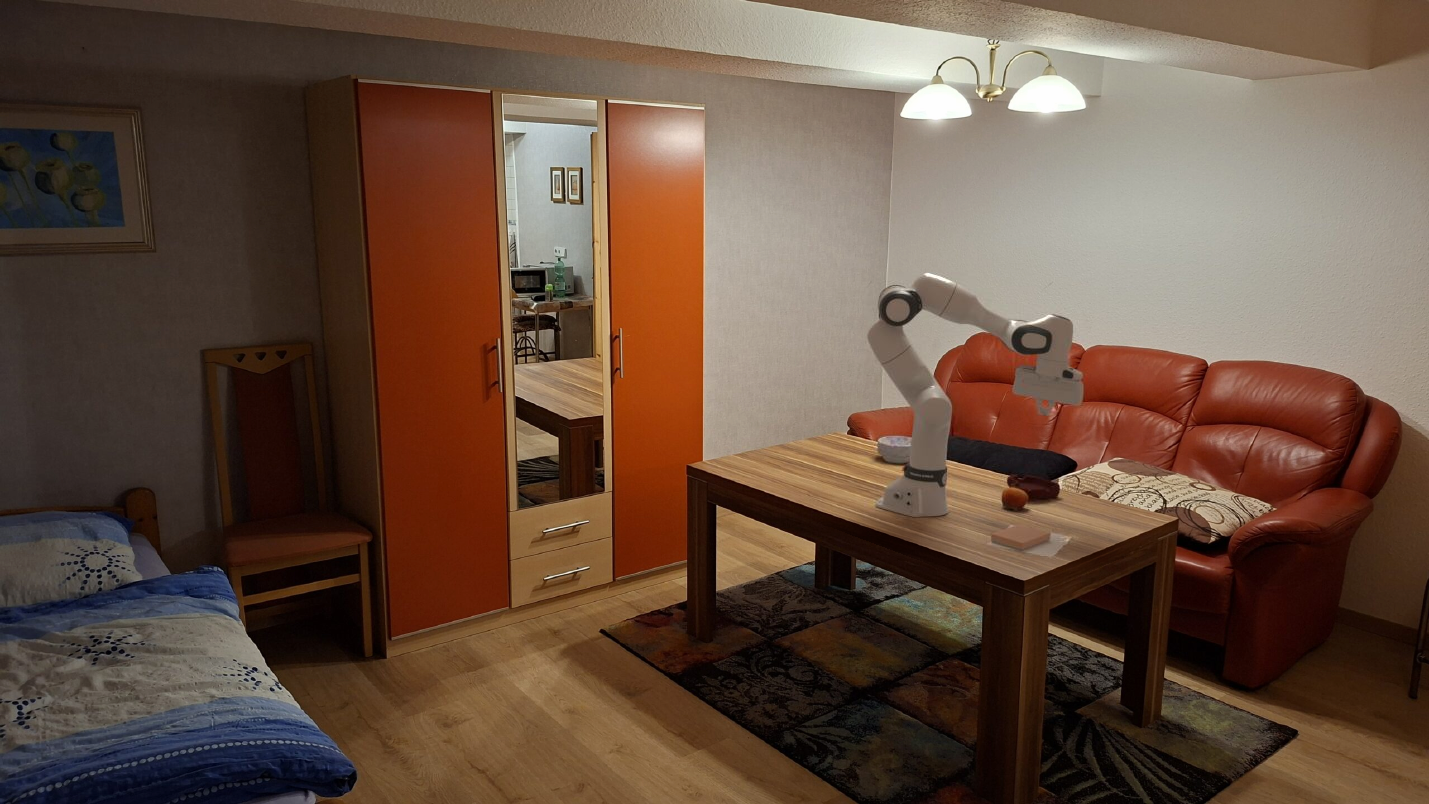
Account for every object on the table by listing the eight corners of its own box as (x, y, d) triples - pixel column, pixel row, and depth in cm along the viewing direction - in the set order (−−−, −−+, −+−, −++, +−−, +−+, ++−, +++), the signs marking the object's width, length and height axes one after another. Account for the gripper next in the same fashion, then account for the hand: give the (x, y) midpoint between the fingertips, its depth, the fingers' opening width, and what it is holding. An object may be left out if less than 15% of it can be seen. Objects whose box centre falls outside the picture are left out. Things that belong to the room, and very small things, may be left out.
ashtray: (1062, 506, 305) (1063, 491, 304) (1009, 502, 309) (1010, 487, 308) (1055, 490, 322) (1056, 476, 321) (1005, 487, 326) (1006, 473, 325)
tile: (1049, 540, 271) (1021, 551, 262) (1019, 531, 279) (990, 541, 270) (1050, 532, 271) (1022, 543, 262) (1019, 523, 278) (991, 533, 269)
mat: (986, 545, 268) (986, 544, 268) (1011, 526, 284) (1011, 524, 284) (1051, 559, 257) (1051, 557, 257) (1073, 538, 274) (1073, 536, 274)
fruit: (995, 506, 298) (1001, 482, 300) (1001, 513, 305) (1006, 490, 307) (1021, 511, 294) (1026, 486, 296) (1026, 518, 300) (1032, 494, 302)
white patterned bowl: (879, 465, 352) (880, 444, 350) (874, 455, 367) (875, 435, 365) (921, 466, 351) (922, 445, 350) (914, 455, 366) (915, 435, 364)
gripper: (1013, 364, 288) (1006, 408, 290) (1082, 375, 276) (1074, 422, 278) (1020, 363, 293) (1012, 407, 295) (1088, 374, 281) (1080, 420, 284)
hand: (1043, 414), depth 287 cm, fingers closed
